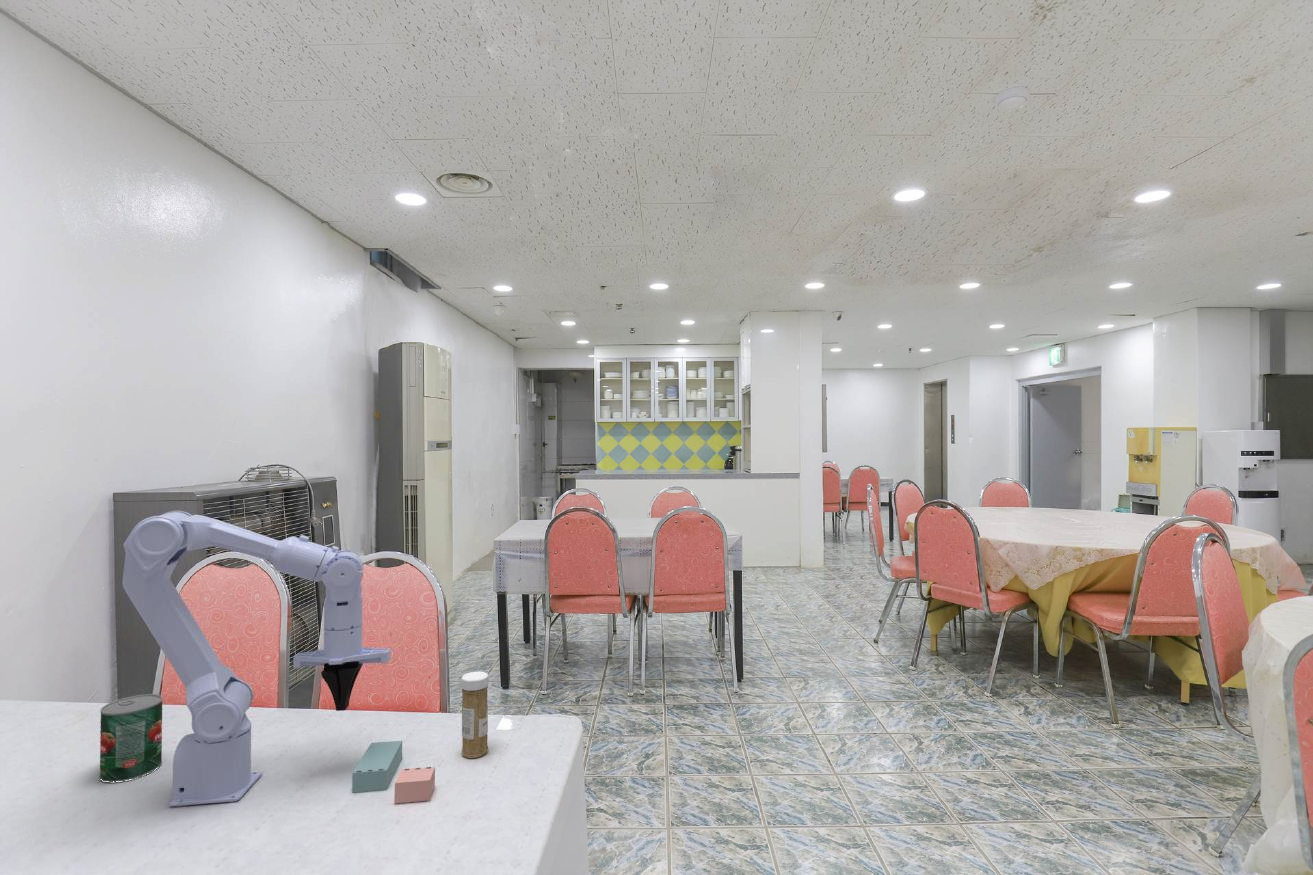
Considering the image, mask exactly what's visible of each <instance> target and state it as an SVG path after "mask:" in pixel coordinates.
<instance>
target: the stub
mask: <svg viewBox="0 0 1313 875" xmlns="http://www.w3.org/2000/svg"><path fill="white" fill-rule="evenodd" d="M435 787H436V767H435V766H426V767H415V768H402V769H400V771H399V773H398V776H397V777H396V780H395V781H394V804H401V803H402V804H403V803H404V804H405V803H414V802H415V803H416V802H424V801H425V802H426V801H431V798H432V794H433V793H434V789H435Z"/></svg>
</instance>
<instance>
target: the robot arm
mask: <svg viewBox="0 0 1313 875" xmlns="http://www.w3.org/2000/svg"><path fill="white" fill-rule="evenodd" d="M309 540H310V537H309V536H306V535H304V534H302V535H299V537H296V536H294V535H293V536H289V537H287V538H285V539H283V540H279V539H275V538H272V537H269V536H266V535H264V534H261V533H257V532H254V531H252V530H248V529H246V528H242V527H240V526H237V525H234V524H231V523H229V522H226V521H223V520H219V519H216V518H213V517H209V516H206V515H199V514H193V515H192V514H190V513H189V512H186V511H183V510H172V511H168V512H165V513H163V514H160V515H154V516H150V517H147V518H145V519H143V520H141V521H139V522H138V523H137V524H135V526H134V527H133V528H132V530H131V532H130V534H129V535H128V536H127V538H126V540H125V542H124V543H123V548H124V551H125V552H124V553H125V555H124V557H125V558H124V564H123V565H124V566H123V574H122V584H121V585H122V587H123V590H124V591H125V593H126V595H127V596H128V597H129V600H130V601H131V603H132V604H133V606H134V607H135V610H136V611H137V612H138V614H139V615H140V617H141V619H142V620H143V622H144V623H145V625H146V627H147V628H148V630H149V631H150V633H151V635H152V636H153V638H154V640H155V641H156V643H157V644H158V646H159V647H160V649H161V651H162V652H163V654H164V655H165V657H166V659H167V660H168V662H169V664H171V666H172V668H173V670H174V671H175V673H176V674H177V676H178V678H179V680H180V681H181V682H182V684H183V686H184V688H185V703H186V707H187V708H188V710H189V712H190V714H191V715H190V716H191V729H192V731H193V733H188V734H186V735H184V736H183V737H182V738H181V739H180V740H179V742H178V744H177V746H176V748H175V750H174V754H173V760H172V788H171V789H172V790H171V792H172V795H171V798H172V800H171V801H170V802H169V803H168V805H169V807H181V806H193V805H204V804H216V803H227V802H230V803H231V802H236V801H239V800H240V799H241V798H242V797H243V796H244V795H245V794H246V793H247V791H248V790H250V788H251V787H252V786H253V785H254V784H255V783H256V782H257V780H259V778H260V777H261V776H262V774H263V772H262V771H251V770H252V721H251V720H250V719H249V718H248V716H247V714H246V712H247V710H249V708H250V706H251V705H252V703H253V702H254V692H253V688H252V687H251V685H250V684H249V683H247V681H245V680H242V679H240V678H239V677H238V676H237V675H236V674H235V672H234V671H233V670H232V669H231V668H230V667H228V666H226V665H224V664H223V663H222V662H221V661H220V659H219V656H218V655H217V654H216V652H215V650H214V649H213V647H212V645H211V644H210V642H209V640H208V639H207V638H206V636H205V633H204V631H203V630H202V629H201V627H200V626H199V624H198V622H197V621H196V619H195V617H194V616H193V614H192V613H191V611H190V609H189V608H188V606H187V605H186V603H185V600H184V599H183V598H182V596H181V595H180V593H179V591H178V590H177V588H176V587H175V585H174V583H173V582H172V580H171V576H172V574H173V572H174V570H175V568H176V566H177V565H178V562H179V561H180V558H181V557H182V556H183V554H185V552H191V551H195V550H200V549H207V548H211V547H216V548H221V549H224V550H227V551H228V550H229V551H231V552H232V551H233V552H235V553H241V554H244V555H248V556H252V557H256V558H261V559H264V560H268V561H270V562H271V564H272V566H273V568H274V569H275V571H277V572H280V573H283V574H288V575H290V576H294V577H297V578H300V579H305V580H309V581H312V582H315V583H317V582H323V585H324V586H325V599H324V601H323V649H322V650H314V651H306V652H298V653H296V654H295V655H293V659H292V660H293V662H292V663H293V669H301V668H302V667H303V668H304V667H320V666H321V667H323V669H322V671H321V673H320V675H321V679H323V680H324V682H325V683H326V685H327V687H328V689H329V691H330V693H331V696H332V698H333V702H334V706H335V711H336V712H341V711H346V710H347V709H348V707H350V699H351V696H352V692H353V688H354V685H355V682H356V680H357V679H358V678H357V677H358V675H359V673H360V672H361V669H362V667H363V664H379V663H380V664H381V665H384V664H388V663H389V662H390V661H391V648H375V647H363V595H362V592H363V586H362V580H363V575H364V563H363V560H362V558H360V556H359V555H358V554H357V553H355V552H353V551H351V550H349V549H341V550H340V549H339V546H336V545H332V546H331V547H328V546H326V545H322V544H319V543H316V542H313V541H309Z"/></svg>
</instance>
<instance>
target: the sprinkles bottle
mask: <svg viewBox="0 0 1313 875" xmlns="http://www.w3.org/2000/svg"><path fill="white" fill-rule="evenodd" d="M489 680H490V679H489V673H487V672H485V671H472V672H471V671H470V672H468V673H465V674H463V675H462V676H461V682H460V683H461V684H460V685H461V686H460V687H461V691H462V692H461V694H462V696H461V698H462V701H461V703H462V704H461V737H462V739H461V740H462V741H461V742H462V746H461V747H462V750H461V755H462V756H463V757H464V758H468V759H477V758H481V757H483V756H485V755H486V754H487V753H488V751H489V745H488V743H489V742H488V739H489V738H488V732H489V728H488V727H489V723H488V722H489V721H488V719H489V718H488V717H489V716H488V714H489V712H488V709H489V708H488V707H489V705H488V687H489V682H490V681H489Z"/></svg>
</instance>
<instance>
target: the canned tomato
mask: <svg viewBox="0 0 1313 875" xmlns="http://www.w3.org/2000/svg"><path fill="white" fill-rule="evenodd" d="M163 699H164V698H163V696H162V695H160V694H154V693H153V694H151V693H147V694H138V695H133V696H127V697H124V698H120V699H117V700H114V701H112V702H108V703H106V704H105V705H103V706H102V707H101V708H100V712H99V713H100V722H99V723H100V725H99V726H100V730H99V733H100V736H99V739H100V740H99V743H100V745H99V748H100V749H99V750H100V751H99V754H100V755H99V777H100V779H102V780H103V781H109V782H113V781H114V782H116V781H125V780H129V779H134V780H136V779H135V778H137V777H141V776H143V775H145V774H147V773H150V772H152V771H154V770H155V769H156V768H158V767H159V766H160V765H161V766H162V764H163V760H162V755H163V754H162V753H163V752H162V751H163V750H162V749H163V747H162V746H163V745H162V744H163V736H162V735H163ZM161 763H162V764H161ZM161 766H160V767H161ZM160 767H159V768H160ZM159 768H158V769H159ZM155 771H156V770H155ZM155 771H154V772H155ZM152 773H153V772H152ZM150 774H151V773H150ZM143 777H144V776H143ZM141 778H142V777H141ZM100 779H99V780H100Z"/></svg>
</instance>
